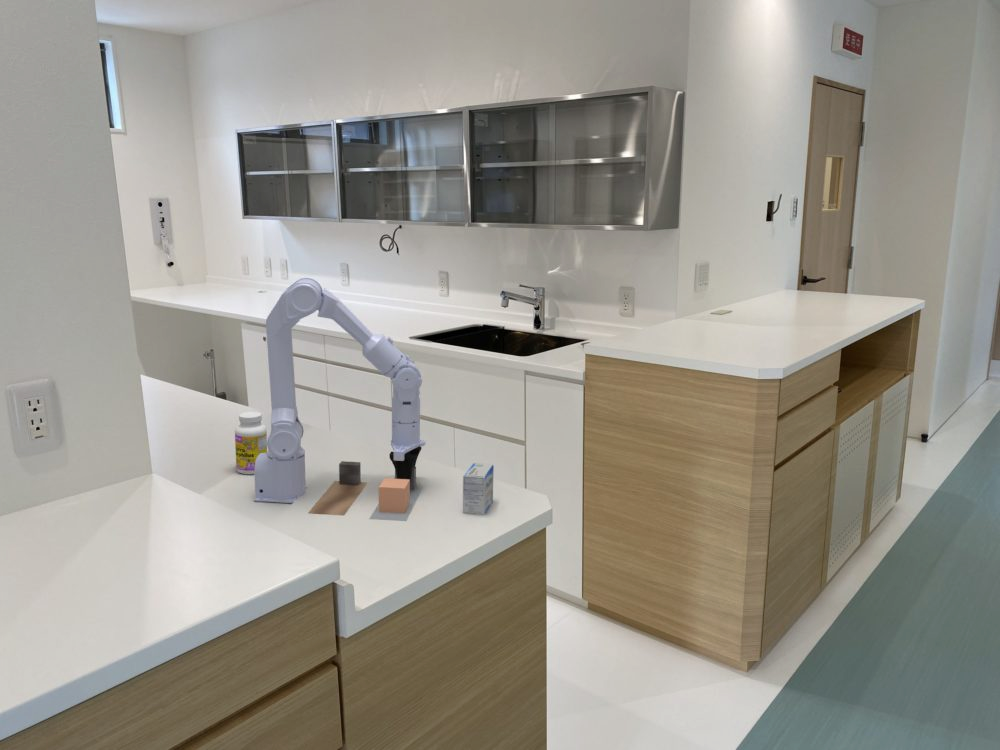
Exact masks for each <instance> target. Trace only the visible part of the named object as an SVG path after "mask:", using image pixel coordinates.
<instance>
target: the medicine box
mask: <svg viewBox="0 0 1000 750" xmlns="http://www.w3.org/2000/svg"><path fill="white" fill-rule="evenodd" d="M494 469H495V468H494V464H489V463H480V462H479V463H478V462H477V463H472V465H470V467H469V469H467V471H466V472H465V473H464V475H463V477H462V514H466V515H475V516H476V515H477V516H486V514H487V513H488V512H489V511H488V510H490V507H491V506H492V504H493V502H494V471H495V470H494Z"/></svg>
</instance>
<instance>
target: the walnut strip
mask: <svg viewBox="0 0 1000 750" xmlns="http://www.w3.org/2000/svg"><path fill="white" fill-rule="evenodd" d="M361 471H362V470H361V462H360V461H348V460H347V461H343V460H341V462H340V463H339V464H338V472H339V473H338V475H339V478H338V479H339V480H334V481H333V482H332V484H331V485H330V486H329V487H328V488H327V490H326V491H325V492H324V493H323V495H321V497H320V498H319V499H318V500H317V502H316V503H315V504H314V505H313V506H312V507H311V509H309V511H308V512H307V514H309V515H310V514H312V515H329V516H330V515H331V516H345V515H346V514H347V513H348V512H349V510H350V508H351V506H353V504H354V502H355V501H356V500H357V499H358V497H359V496H360V494H361V493H362V491H363V490H364V488H365V487H366V485H367V484H368V482H366V481H361V480H362V479H361Z"/></svg>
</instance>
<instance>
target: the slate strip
mask: <svg viewBox="0 0 1000 750" xmlns="http://www.w3.org/2000/svg"><path fill="white" fill-rule="evenodd" d="M394 479H397V474H396V470H395V469H394ZM423 488H424V487H423V486H417V466H415V467H413V470H412V476H411V482H410V504H409V506H408V508H407V510H406V512H405V513H390V512H379V503H377V506H376V507H375V509H374V511H373V512H372V514H371V515H370V517H369V520H378V521H379V520H381V521H382V520H383V521H397V522H398V521H399V522H407V521H408V518H409V516H410V515H411V513H412V511H413V509H414V506H415V505H416V502H417V501H418V498H419V496H420V494H421V492H422V490H423Z"/></svg>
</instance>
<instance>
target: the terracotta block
mask: <svg viewBox="0 0 1000 750" xmlns="http://www.w3.org/2000/svg"><path fill="white" fill-rule="evenodd" d="M378 504H379V512H390V513H405V512H406V510H407V508H408V506H409V504H410V480H409V479H395V478H392V477H391V478H390V477H389V478H386V477H384V478H383V480H382V481H381V483H380V484H379V486H378Z"/></svg>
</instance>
